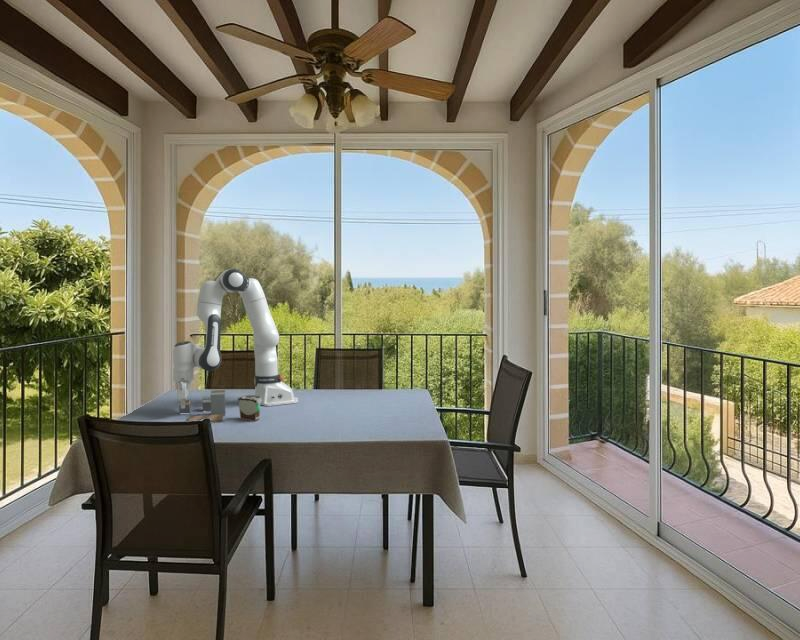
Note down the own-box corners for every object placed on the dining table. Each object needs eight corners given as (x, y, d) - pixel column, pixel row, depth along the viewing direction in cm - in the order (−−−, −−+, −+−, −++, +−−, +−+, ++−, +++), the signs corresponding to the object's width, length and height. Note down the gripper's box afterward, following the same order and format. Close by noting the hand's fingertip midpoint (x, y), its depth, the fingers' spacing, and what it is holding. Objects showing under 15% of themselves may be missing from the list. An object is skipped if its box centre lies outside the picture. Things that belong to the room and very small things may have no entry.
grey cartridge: (213, 409, 258) (212, 396, 258) (212, 411, 254) (212, 398, 253) (203, 409, 257) (202, 397, 256) (202, 411, 252) (202, 399, 252)
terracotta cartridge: (190, 411, 252) (190, 399, 252) (189, 414, 248) (189, 401, 247) (180, 412, 251) (179, 399, 250) (179, 414, 246) (178, 401, 246)
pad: (222, 416, 242) (222, 414, 242) (222, 422, 233) (222, 419, 233) (189, 419, 238) (189, 416, 238) (187, 424, 229) (187, 421, 229)
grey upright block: (225, 412, 250) (224, 389, 249) (225, 415, 244) (224, 392, 243) (211, 413, 248) (211, 390, 248) (211, 416, 242) (210, 392, 242)
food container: (268, 418, 239) (267, 396, 238) (257, 421, 233) (257, 399, 233) (248, 415, 245) (247, 393, 244) (238, 418, 240) (237, 396, 239)
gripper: (188, 379, 239) (189, 410, 240) (192, 372, 259) (193, 401, 260) (173, 380, 237) (174, 411, 238) (178, 373, 257) (179, 401, 258)
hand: (184, 405), depth 249 cm, fingers open, 8 cm apart
